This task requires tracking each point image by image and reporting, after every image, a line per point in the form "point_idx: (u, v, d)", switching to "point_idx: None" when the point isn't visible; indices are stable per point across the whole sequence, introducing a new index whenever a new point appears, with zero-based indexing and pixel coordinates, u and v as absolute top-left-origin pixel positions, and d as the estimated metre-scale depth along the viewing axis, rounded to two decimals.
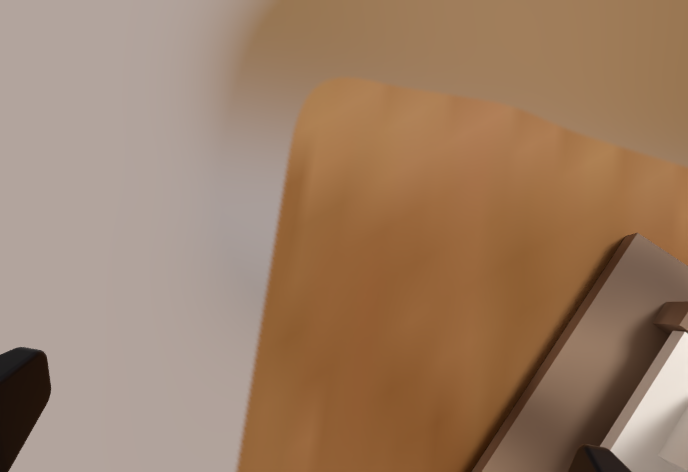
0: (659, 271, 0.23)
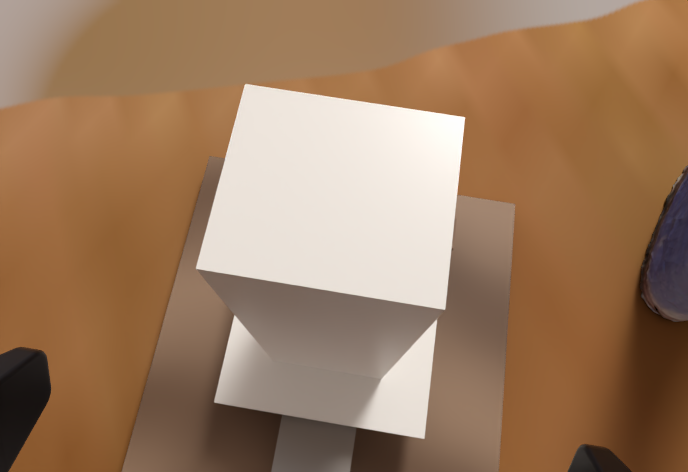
0: None
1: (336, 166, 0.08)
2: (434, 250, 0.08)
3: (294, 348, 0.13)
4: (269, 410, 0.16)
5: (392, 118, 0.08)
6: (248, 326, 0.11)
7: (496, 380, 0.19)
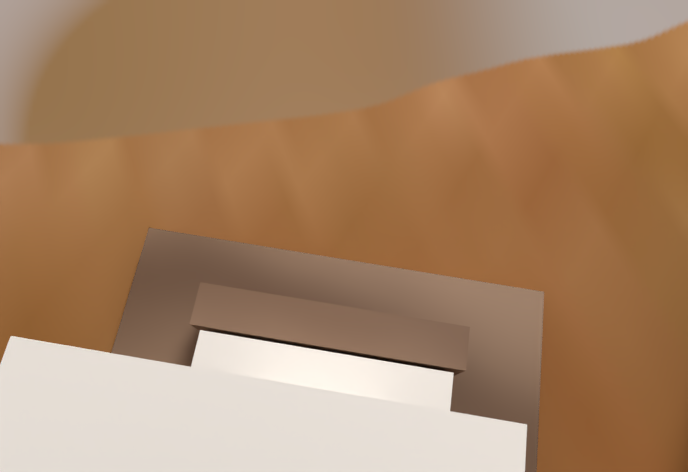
0: (193, 262, 0.16)
1: None
2: None
3: None
4: None
5: (353, 430, 0.03)
6: None
7: None
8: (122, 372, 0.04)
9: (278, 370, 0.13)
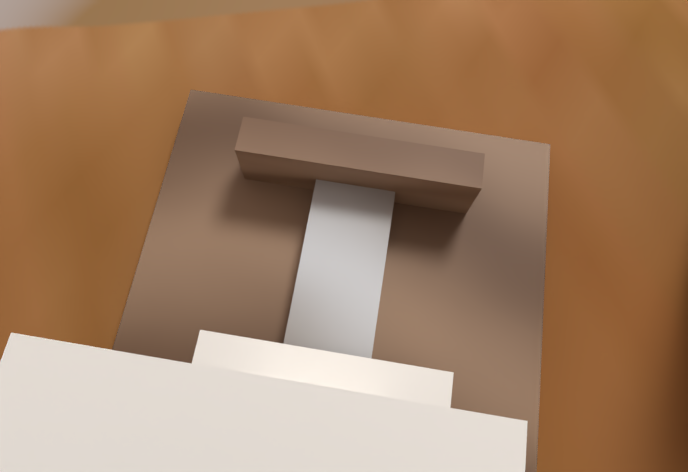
0: (232, 118, 0.18)
1: None
2: None
3: None
4: None
5: (353, 426, 0.03)
6: None
7: (532, 348, 0.16)
8: (123, 369, 0.04)
9: (277, 369, 0.13)
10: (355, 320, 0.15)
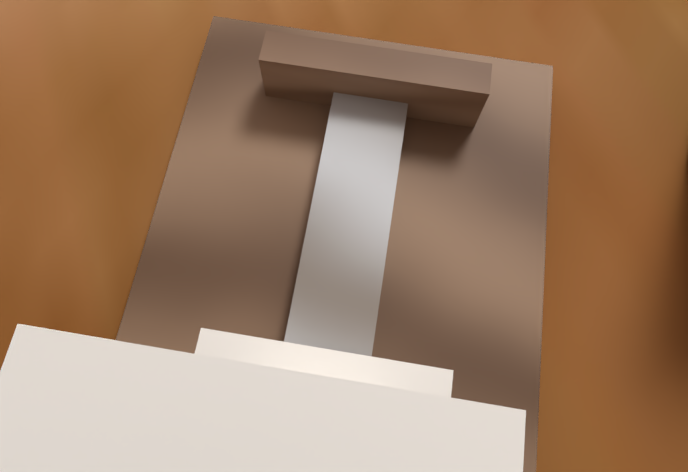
0: (252, 42, 0.19)
1: None
2: None
3: None
4: None
5: (354, 416, 0.03)
6: None
7: (536, 246, 0.17)
8: (127, 359, 0.04)
9: (278, 367, 0.13)
10: (371, 216, 0.16)
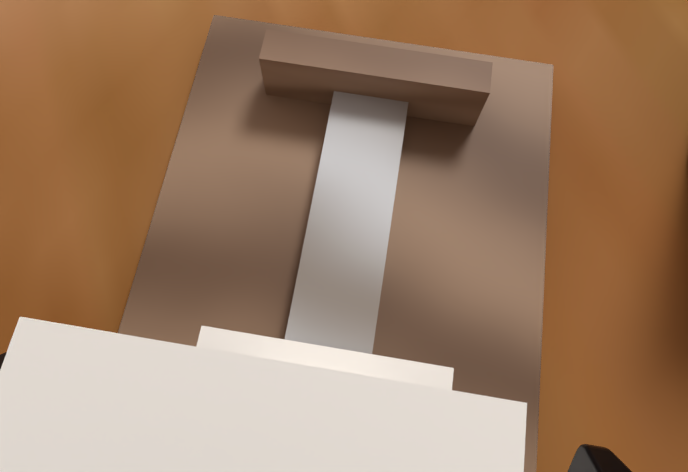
0: (253, 41, 0.19)
1: None
2: None
3: None
4: None
5: (356, 409, 0.03)
6: None
7: (536, 245, 0.17)
8: (129, 351, 0.04)
9: None
10: (372, 215, 0.16)
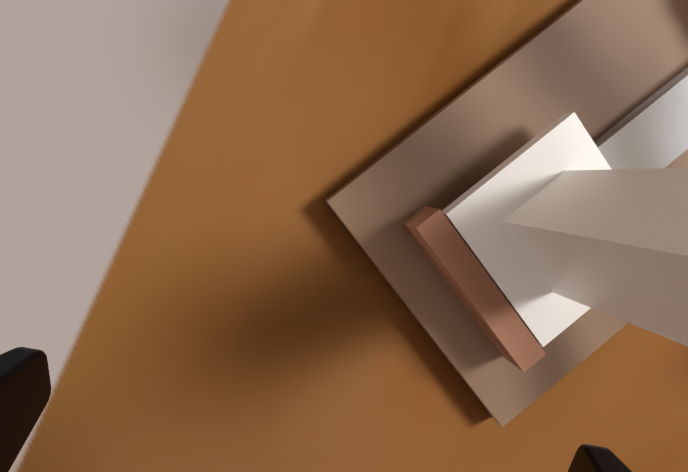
0: None
1: None
2: None
3: (571, 255, 0.16)
4: (473, 250, 0.20)
5: None
6: (603, 243, 0.14)
7: None
8: None
9: (591, 169, 0.20)
10: None
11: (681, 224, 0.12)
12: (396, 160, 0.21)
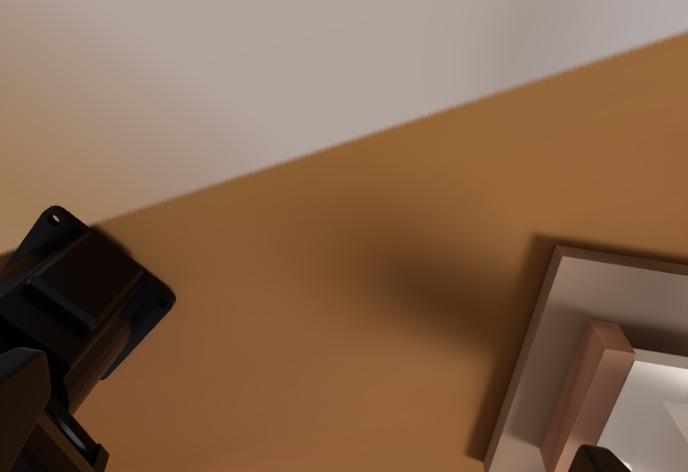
0: None
1: None
2: None
3: None
4: (619, 396, 0.21)
5: None
6: None
7: None
8: None
9: None
10: None
11: None
12: (641, 278, 0.20)
